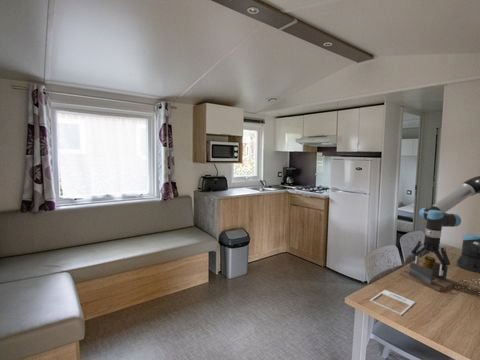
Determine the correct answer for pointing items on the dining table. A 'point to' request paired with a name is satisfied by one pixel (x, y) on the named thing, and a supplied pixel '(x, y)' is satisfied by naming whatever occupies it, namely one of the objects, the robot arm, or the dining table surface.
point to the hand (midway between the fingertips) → (428, 270)
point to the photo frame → (396, 297)
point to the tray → (428, 277)
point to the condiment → (430, 265)
